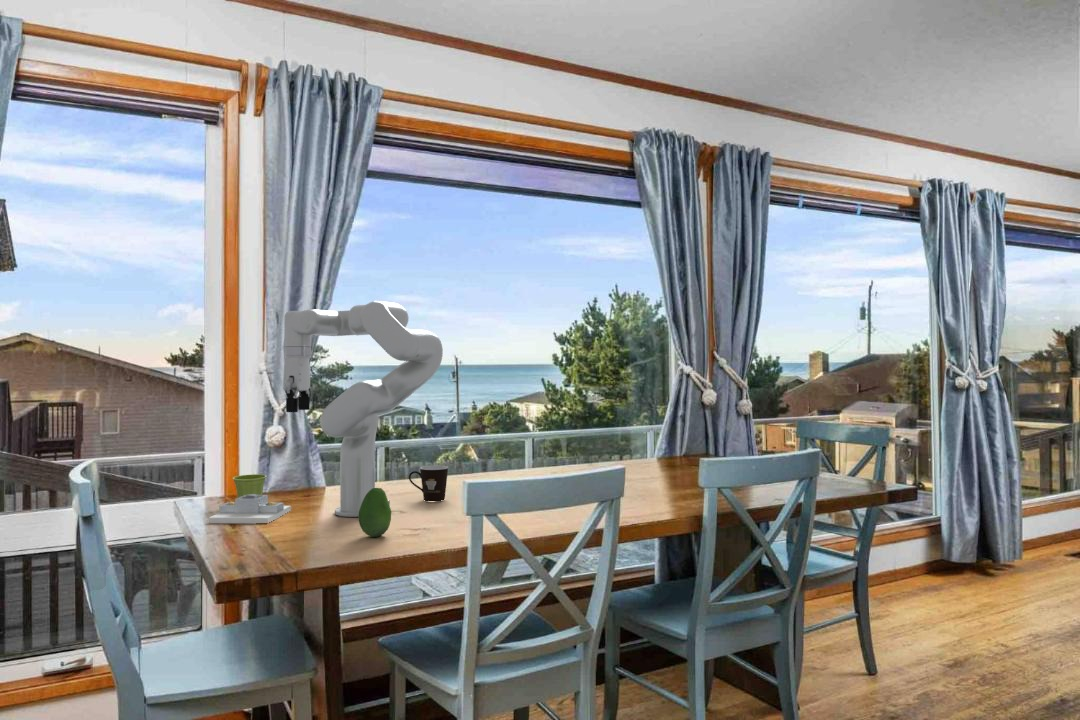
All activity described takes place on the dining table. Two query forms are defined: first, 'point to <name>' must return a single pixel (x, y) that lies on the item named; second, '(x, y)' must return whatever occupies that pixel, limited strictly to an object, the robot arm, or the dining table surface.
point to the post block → (247, 515)
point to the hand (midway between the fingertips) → (298, 410)
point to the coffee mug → (432, 482)
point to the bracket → (251, 506)
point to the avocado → (375, 513)
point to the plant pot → (249, 484)
